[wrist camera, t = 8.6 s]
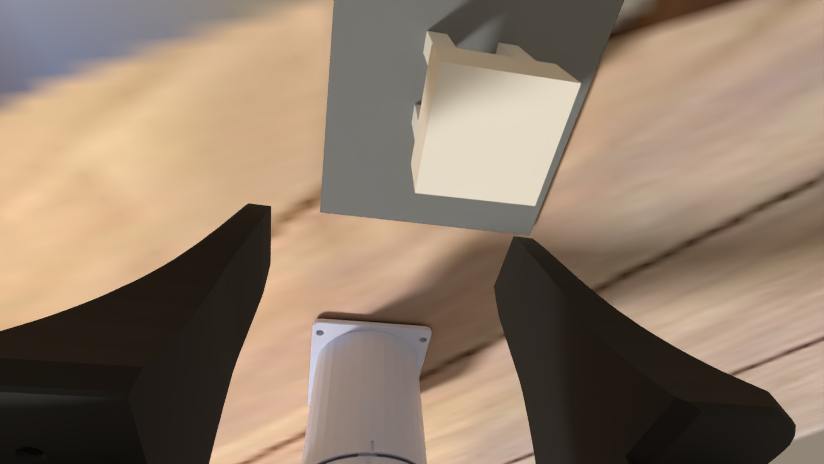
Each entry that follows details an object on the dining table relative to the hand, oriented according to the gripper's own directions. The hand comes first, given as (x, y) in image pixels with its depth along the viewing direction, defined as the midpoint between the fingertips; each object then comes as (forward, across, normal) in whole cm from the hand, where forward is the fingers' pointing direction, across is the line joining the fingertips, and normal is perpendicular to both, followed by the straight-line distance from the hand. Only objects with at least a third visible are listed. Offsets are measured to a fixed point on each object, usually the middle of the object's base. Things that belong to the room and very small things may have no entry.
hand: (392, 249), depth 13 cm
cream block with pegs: (+10, -3, -3) cm, 11 cm away
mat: (+10, -3, -2) cm, 11 cm away
